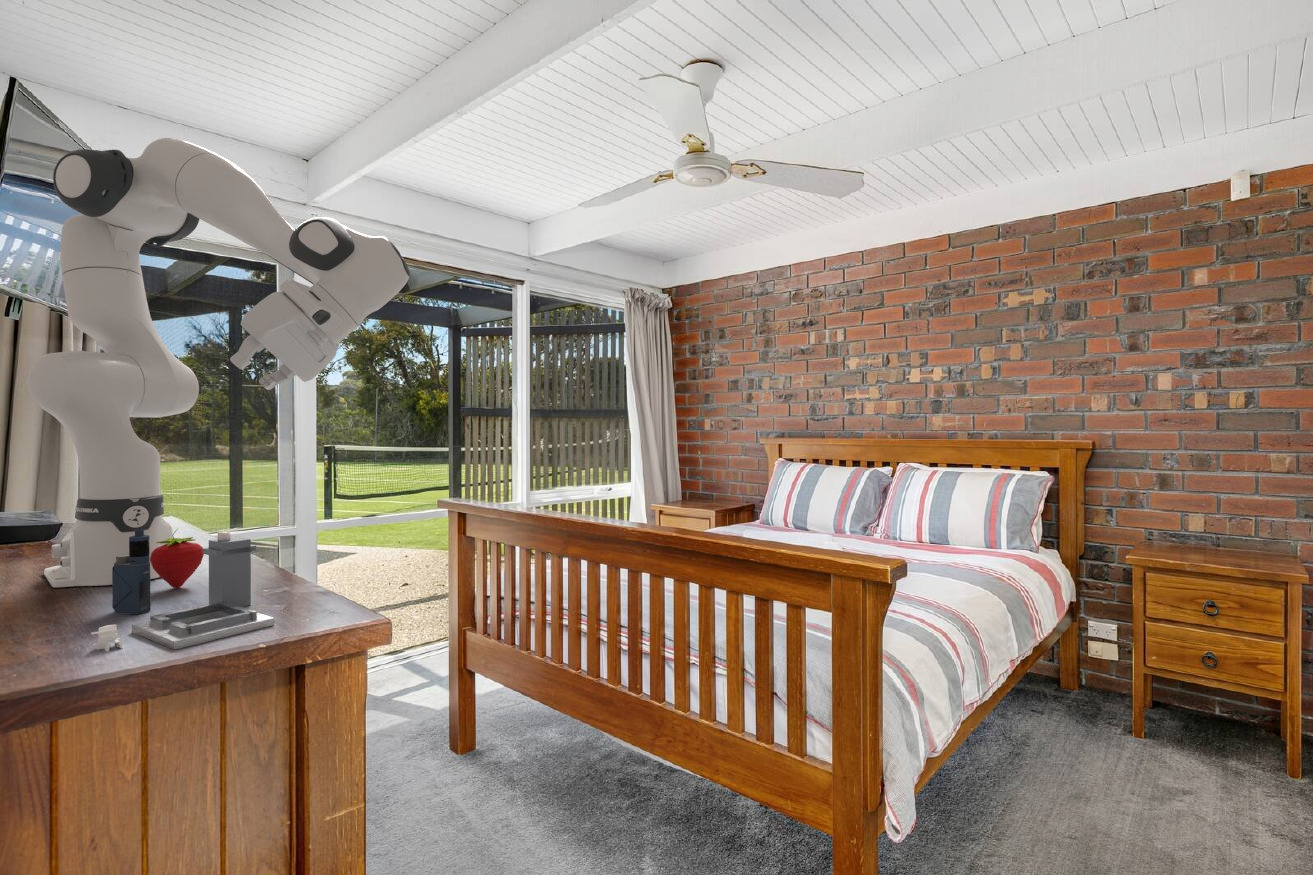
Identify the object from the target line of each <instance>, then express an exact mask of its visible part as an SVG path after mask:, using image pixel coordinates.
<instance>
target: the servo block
mask: <svg viewBox="0 0 1313 875" xmlns="http://www.w3.org/2000/svg"><path fill="white" fill-rule="evenodd" d="M251 542H252V540H251V539H250V538H247V537H246V538H245V537H241V536H231V531H218V532H217V538H215V539H209V540H208V547H203V554H204V555H207V556H208V604H213V603H218V602H223V601H224V602H227V603H231V604H234V605H237V606H241V607H244V608H245V607H248V606H251V605H252V602H251V601H252V595H251V594H252V591H251V590H252V584H251V583H252V580H251V579H252V578H251V576H252V574H251V573H252V572H251V570H252V566H251V565H252V563H251V562H252V560H251V559H252V558H251V557H252V556H251V555H252V552H257V545H256V544H251Z"/></svg>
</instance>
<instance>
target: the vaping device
mask: <svg viewBox="0 0 1313 875" xmlns="http://www.w3.org/2000/svg"><path fill="white" fill-rule="evenodd" d="M148 541H149V535H144V529H138V530H135V536H130V537H129V554H124V555H118V556H116V562H115V563H114V567H113V568H112V585H111V586H112V590H111V591H112V592H111V594H112V596H111V597H112V600H111V601H112V602H111V604H112V606H111V607H112V609H113V610H114V613H115V614H119V615H120V614H123V615H139V614H144V613H147V612H150V611H151V579H150V543H149V542H148Z"/></svg>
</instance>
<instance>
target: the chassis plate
mask: <svg viewBox="0 0 1313 875" xmlns="http://www.w3.org/2000/svg"><path fill="white" fill-rule="evenodd" d="M149 619H150V620H148V621H143V622H138V623H135V624H131V633H133V634H135V635H137V636H140V637H142V638H145V639H147V640H150V641H152V642H155V643H157V644H159V645H162V646H164V647H167V648H170V649H172V650H174V651H175V650H178V649H179V650H180V649H183V648H187V647H191V646H195V645H199V644H203V643H207V642H211V641H217V640H220V639H224V638H228V637H232V636H237V635H240V634H243V633H249V632H252V631H256V630H261V629H265V628H268V627H272V626H275V618H274V617H272V616H269V615H265V614H262V613H259V612H258V611H256V610H253V609H249V608H246V607H245V606H244V607H241V606H237V605H234V604H231V603H227V602H224V601H223V602H218V603H213V604H209V603H208V604H203V605H200V606H193V607H189V608H185V609H179V610H175V611H174V610H173V611H170V612H165V613H160V614H155V615H151V616H150V618H149Z"/></svg>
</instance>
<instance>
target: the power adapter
mask: <svg viewBox="0 0 1313 875" xmlns="http://www.w3.org/2000/svg"><path fill="white" fill-rule="evenodd" d="M117 632H118V628H117V624H109V625H108V624H107V625H104V626H101V627H98V631H92V632H90V634H91V635H98V642H96V643H94V644H93V645H92V646H93V648H95V649H96V650H97V651H99V650H105V651H106V652H109V651H110V646H111V644H114V646H115V647H117V648H120V650H123V649H124V647H123V640H122V637H118V635H119V634H118V633H117Z"/></svg>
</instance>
